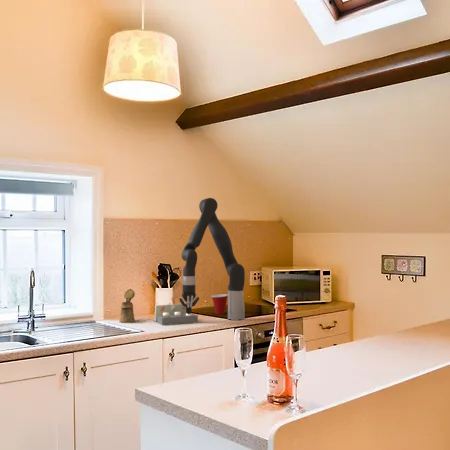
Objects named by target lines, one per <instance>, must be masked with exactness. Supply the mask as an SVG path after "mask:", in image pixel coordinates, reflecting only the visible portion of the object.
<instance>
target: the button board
mask: <svg viewBox="0 0 450 450" xmlns="http://www.w3.org/2000/svg"><path fill="white" fill-rule="evenodd" d="M198 321H199V315H197V314H195V313H192V315H191V316H186V314H181V316H176V317H175V315H169V317H163V316H157V322H156V323H157V324H159V325H161V326H167V325H169V324H171V325H181V324H180V323H184V324H194V323H193V322H198ZM169 326H170V325H169Z"/></svg>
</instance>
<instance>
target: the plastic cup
mask: <svg viewBox="0 0 450 450" xmlns="http://www.w3.org/2000/svg"><path fill="white" fill-rule="evenodd" d="M211 298H212V299H211V300H212V302H213V303H212V304H213V308H214V313H215V314H216V315H225V314H226V307H227V303H228V293H226V294H224V293H223V294H221V293H220V294H214V295H213V294H212V295H211Z"/></svg>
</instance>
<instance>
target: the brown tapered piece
mask: <svg viewBox="0 0 450 450" xmlns="http://www.w3.org/2000/svg"><path fill="white" fill-rule="evenodd" d="M135 295H136V293H135V291H134V290H133V289H132V288H130V289H127V290H126V291H125V292H124V296H123V297H124V299H126V301H122V302H121V306H120V315H119V323H124V324H129V323H130V324H131V323H135V322H136V319H135V313H134V304H133V302H131V300H132V299H133V298H135Z"/></svg>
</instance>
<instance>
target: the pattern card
mask: <svg viewBox="0 0 450 450" xmlns="http://www.w3.org/2000/svg"><path fill="white" fill-rule="evenodd" d="M154 307H155V308H154V309H155V310H154V319H153V320H152V322H154V323H157V316H163V313H169V315H175V312H181V314H187V313H186V307H185V306H183V305H182V304H181V303H175V304H159V305H157V304H156V305H155V306H154Z"/></svg>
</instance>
